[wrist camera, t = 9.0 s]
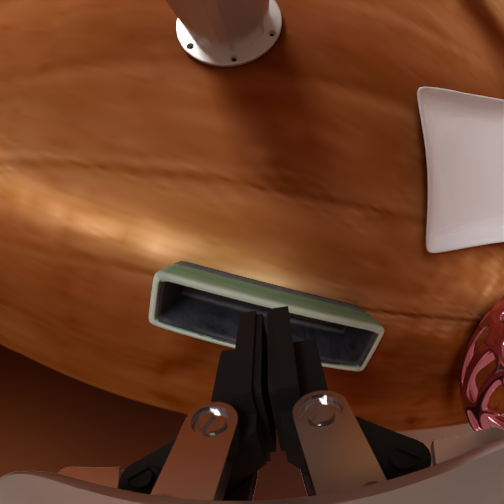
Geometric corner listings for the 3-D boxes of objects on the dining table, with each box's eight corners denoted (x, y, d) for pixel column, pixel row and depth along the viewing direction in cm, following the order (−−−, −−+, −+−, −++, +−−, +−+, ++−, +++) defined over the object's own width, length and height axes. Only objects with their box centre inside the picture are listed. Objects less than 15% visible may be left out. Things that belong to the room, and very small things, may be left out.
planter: (370, 301, 39) (387, 328, 32) (350, 342, 42) (362, 373, 35) (172, 249, 38) (153, 270, 31) (164, 297, 40) (146, 324, 33)
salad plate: (415, 248, 37) (426, 256, 34) (404, 89, 30) (417, 84, 27) (513, 233, 35) (526, 239, 32) (510, 104, 28) (523, 103, 25)
